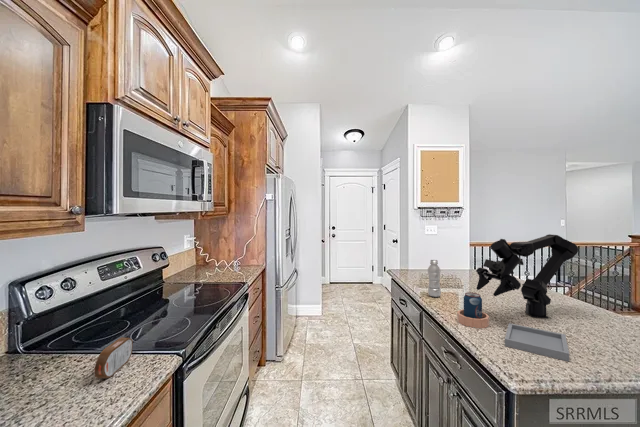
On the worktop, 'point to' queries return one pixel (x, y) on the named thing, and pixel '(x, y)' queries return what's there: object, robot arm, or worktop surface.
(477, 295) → the soda can
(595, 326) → the worktop surface
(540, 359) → the worktop surface
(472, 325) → the ring holder
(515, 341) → the tray
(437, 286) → the plastic bottle
